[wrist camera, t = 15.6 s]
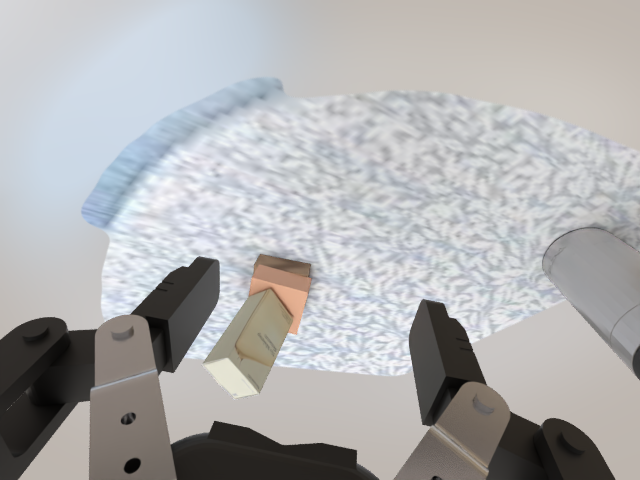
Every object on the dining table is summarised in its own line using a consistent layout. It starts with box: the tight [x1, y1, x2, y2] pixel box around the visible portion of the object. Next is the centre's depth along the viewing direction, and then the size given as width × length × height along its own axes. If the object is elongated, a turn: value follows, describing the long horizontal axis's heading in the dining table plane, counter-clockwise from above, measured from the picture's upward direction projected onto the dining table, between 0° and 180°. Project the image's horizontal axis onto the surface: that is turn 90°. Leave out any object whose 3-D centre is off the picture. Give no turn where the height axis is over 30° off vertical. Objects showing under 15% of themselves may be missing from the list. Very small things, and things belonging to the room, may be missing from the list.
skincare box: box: [202, 289, 293, 400], centre depth 41 cm, size 6×4×12 cm
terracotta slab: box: [249, 264, 312, 335], centre depth 48 cm, size 8×8×4 cm
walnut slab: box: [254, 254, 311, 278], centre depth 51 cm, size 8×8×4 cm
